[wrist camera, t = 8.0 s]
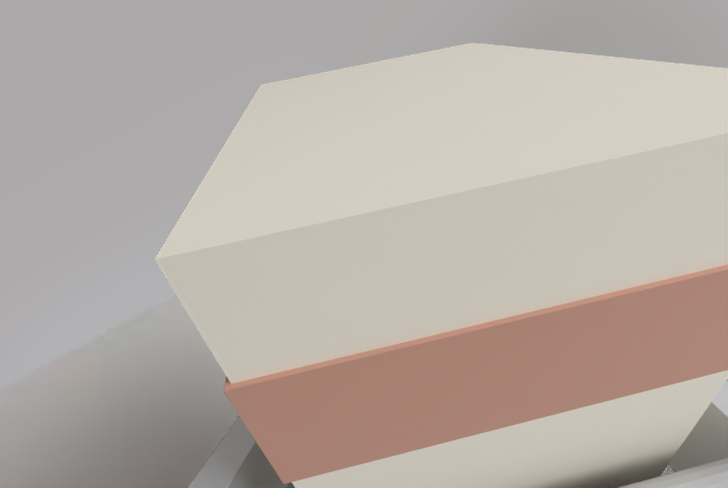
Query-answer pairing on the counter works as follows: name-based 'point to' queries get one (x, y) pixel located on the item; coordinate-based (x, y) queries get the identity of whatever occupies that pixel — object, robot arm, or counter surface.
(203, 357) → the counter surface
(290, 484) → the mat
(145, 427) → the counter surface
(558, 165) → the striped white pillar
